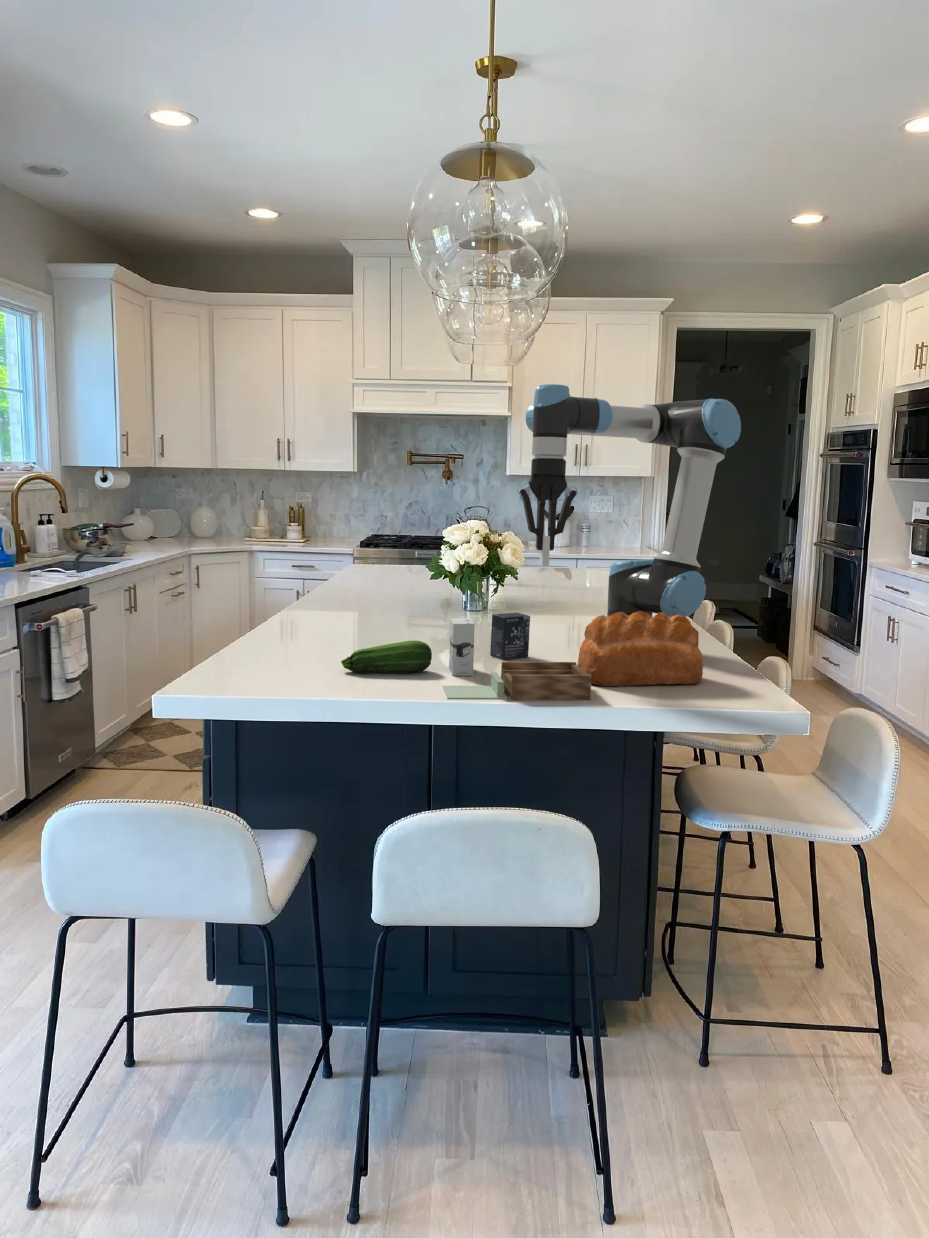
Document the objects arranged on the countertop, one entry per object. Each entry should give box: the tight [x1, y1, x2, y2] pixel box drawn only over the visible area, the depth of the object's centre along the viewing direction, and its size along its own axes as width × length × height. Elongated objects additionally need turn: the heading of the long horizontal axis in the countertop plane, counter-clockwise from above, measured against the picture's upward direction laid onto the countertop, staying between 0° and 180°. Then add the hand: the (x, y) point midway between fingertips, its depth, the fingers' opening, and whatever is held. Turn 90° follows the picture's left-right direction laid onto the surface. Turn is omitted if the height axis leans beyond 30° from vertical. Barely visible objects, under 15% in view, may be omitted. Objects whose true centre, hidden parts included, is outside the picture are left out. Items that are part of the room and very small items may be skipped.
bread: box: [576, 611, 704, 687], centre depth 198 cm, size 14×26×16 cm, turn 101°
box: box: [489, 612, 531, 661], centre depth 220 cm, size 8×6×11 cm
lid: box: [442, 671, 509, 700], centre depth 183 cm, size 12×10×4 cm
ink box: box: [448, 617, 475, 677], centre depth 201 cm, size 8×5×12 cm, turn 5°
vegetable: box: [340, 640, 433, 675], centre depth 199 cm, size 7×7×20 cm
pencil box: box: [500, 661, 592, 701], centre depth 185 cm, size 16×13×5 cm
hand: (544, 565), depth 200 cm, fingers closed
